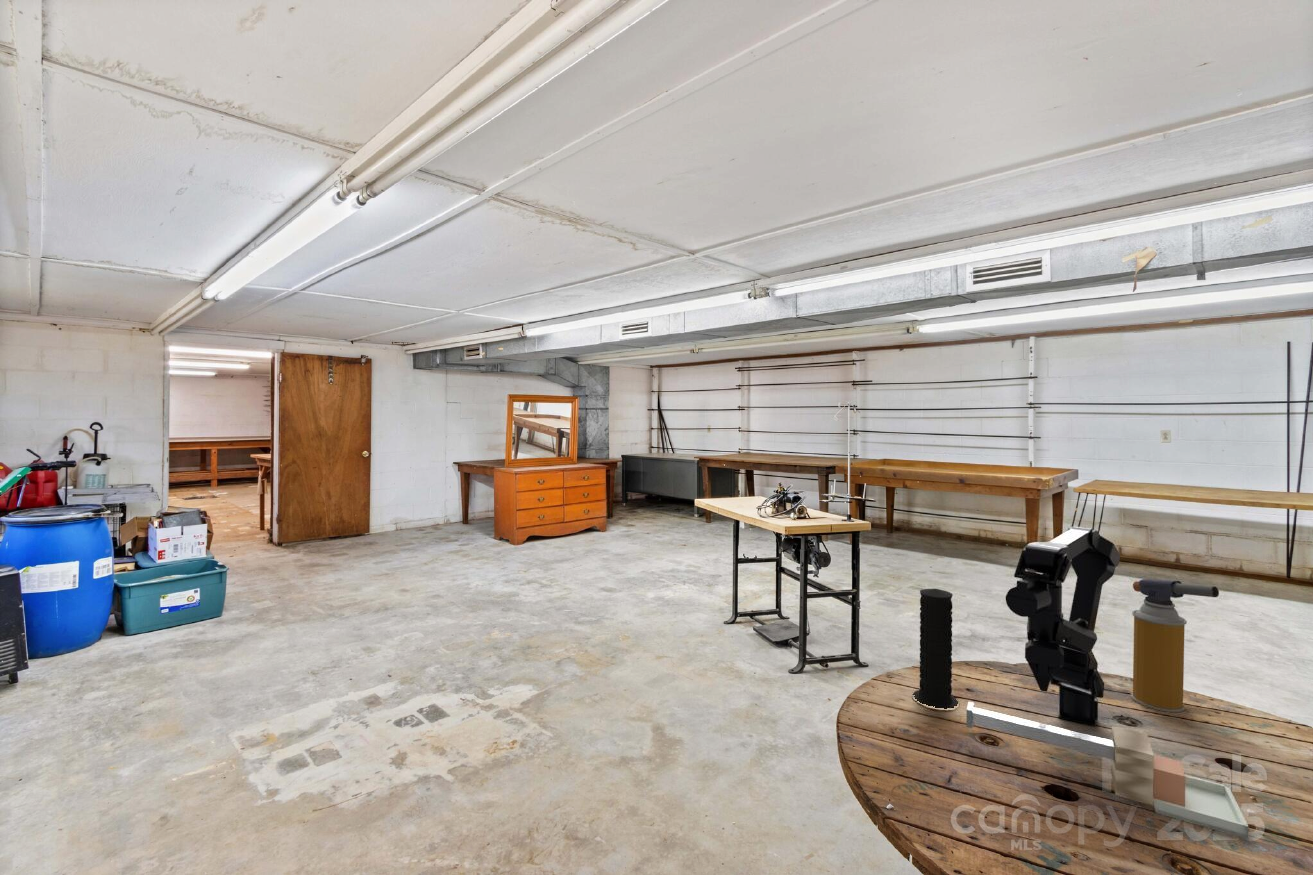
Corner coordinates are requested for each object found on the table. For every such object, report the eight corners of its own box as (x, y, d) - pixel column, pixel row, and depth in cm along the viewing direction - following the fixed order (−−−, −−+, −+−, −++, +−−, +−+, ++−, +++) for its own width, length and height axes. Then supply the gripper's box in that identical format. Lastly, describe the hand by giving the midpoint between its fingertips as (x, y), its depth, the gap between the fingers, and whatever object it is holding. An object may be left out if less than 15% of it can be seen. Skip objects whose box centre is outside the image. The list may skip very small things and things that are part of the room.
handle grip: (962, 697, 136) (917, 686, 142) (963, 586, 135) (917, 580, 141) (955, 715, 128) (907, 703, 133) (956, 597, 127) (908, 590, 133)
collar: (1153, 798, 99) (1154, 768, 98) (1149, 782, 103) (1150, 753, 103) (1185, 807, 96) (1185, 776, 96) (1179, 790, 100) (1180, 761, 100)
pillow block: (1115, 795, 100) (1116, 746, 100) (1111, 771, 107) (1111, 725, 107) (1152, 805, 98) (1153, 755, 97) (1146, 780, 104) (1146, 733, 104)
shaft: (966, 727, 115) (966, 709, 115) (968, 718, 118) (968, 701, 118) (1134, 770, 100) (1134, 750, 100) (1131, 759, 104) (1131, 740, 103)
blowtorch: (1148, 689, 139) (1150, 566, 138) (1229, 723, 124) (1232, 585, 123) (1118, 694, 137) (1120, 569, 136) (1197, 729, 121) (1200, 588, 120)
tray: (1155, 812, 96) (1155, 800, 96) (1145, 775, 106) (1145, 764, 106) (1248, 839, 90) (1248, 826, 90) (1227, 796, 100) (1228, 785, 100)
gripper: (1097, 628, 105) (1096, 712, 105) (1091, 601, 120) (1090, 674, 121) (1025, 617, 111) (1024, 696, 111) (1027, 592, 126) (1027, 662, 127)
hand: (1043, 682), depth 117 cm, fingers open, 9 cm apart
